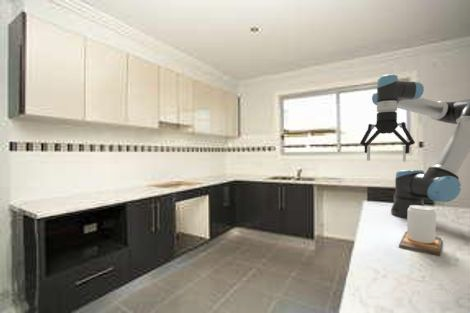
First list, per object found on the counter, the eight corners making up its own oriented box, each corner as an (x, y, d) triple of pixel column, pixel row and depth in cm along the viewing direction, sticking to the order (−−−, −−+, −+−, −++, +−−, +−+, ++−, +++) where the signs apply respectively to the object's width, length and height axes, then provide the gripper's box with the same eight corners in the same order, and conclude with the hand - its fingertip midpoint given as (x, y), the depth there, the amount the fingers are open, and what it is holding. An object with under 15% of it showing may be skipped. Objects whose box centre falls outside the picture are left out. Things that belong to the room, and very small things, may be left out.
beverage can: (440, 245, 85) (441, 210, 85) (413, 243, 87) (414, 209, 86) (427, 237, 93) (427, 205, 93) (402, 235, 95) (403, 204, 94)
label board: (405, 233, 100) (405, 231, 100) (441, 240, 93) (441, 237, 93) (399, 247, 86) (399, 244, 86) (440, 256, 79) (440, 252, 79)
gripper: (353, 113, 114) (352, 160, 115) (421, 108, 98) (420, 162, 98) (358, 115, 119) (357, 159, 120) (423, 110, 103) (421, 161, 104)
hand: (385, 160), depth 109 cm, fingers open, 13 cm apart
